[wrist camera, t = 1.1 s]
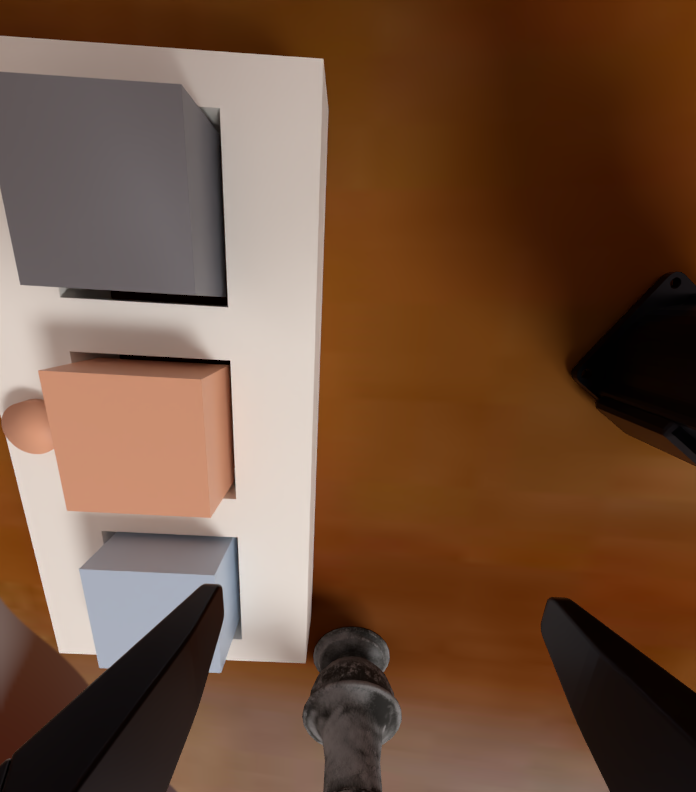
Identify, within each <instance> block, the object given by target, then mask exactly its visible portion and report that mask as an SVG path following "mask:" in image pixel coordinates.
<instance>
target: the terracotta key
mask: <svg viewBox="0 0 696 792" xmlns="http://www.w3.org/2000/svg"><path fill="white" fill-rule="evenodd" d="M38 373H39V378H40V383H41V388H42V393H43V397H44V402H45V407H46V412H47V417H48V422H49V426H50V431H51V436H52V441H53V446H54V451H55V456H56V460H57V465H58V470H59V475H60V480H61V485H62V489H63V494H64V499H65V504H66V509H67V511H79V512H100V513H121V514H141V515H162V516H182V517H203V518H211V517H212V515H213V513H214V512H215V510H216V509H217V507H218V506H219V504H220V503H221V501H222V499H223V498H224V496H225V495H226V493H227V492H228V490H229V488H230V487H231V485H232V484H233V482H234V458H233V434H232V411H231V388H230V365H221V364H204V363H186V362H168V361H150V360H132V359H115V358H94V359H89V360H84V361H80V362H75V363H70V364H66V365H61V366H57V367H52V368H47V369H43V370H38Z"/></svg>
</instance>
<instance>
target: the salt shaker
mask: <svg viewBox="0 0 696 792" xmlns="http://www.w3.org/2000/svg"><path fill="white" fill-rule="evenodd" d="M313 658H314V664H315V666H316V668H317V669H318V671H319V672H320V674H319V675H318V677H317V679H316V681H315V683H314V685H313V688H312V690H311V694H310V697H309V699H308V701H307V702H306V704H305V706H304V710H303V716H302V717H303V723H304V726H305V728H306V730H307V732H308V733H309V735H310V736H311V737H312V738H313V739H314V740H315V741H317V742H318V743H320V744H322V745H323V747H324V756H325V771H324V791H323V792H382V784H381V769H380V756H381V747H382V745H383V744H384V743H386V742H387V741H388V740H390V739H391V738H392V737H393V736H394V735H395V733H396V732H397V731H398V729H399V726H400V723H401V720H402V717H401V708H400V706H399V704H398V701H397V700H396V699H395V697H394V693H393V691H392V689H391V686H390V684H389V682H388V680H387V678H386V676H385V674H384V673H383V672H384V671H385V669H386V668H387V666H388V663H389V659H390V658H389V649H388V647H387V644H386V642H385V641H384V640H383V639H382V638H381V637H380V636H379V635H377V634H376V633H374V632H373V631H370V630H367V629H365V628H359V627H343V628H339V629H336V630H333V631H331V632H329V633H327V634H325V635H324V636H323V637H322V638H321V639H320V640H319V641H318V643H317V645H316V646H315V650H314V655H313Z"/></svg>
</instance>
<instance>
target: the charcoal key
mask: <svg viewBox="0 0 696 792" xmlns="http://www.w3.org/2000/svg"><path fill="white" fill-rule="evenodd" d="M0 189H1V194H2V199H3V204H4V208H5V213H6V218H7V223H8V228H9V233H10V237H11V242H12V247H13V252H14V257H15V262H16V267H17V271H18V276H19V281H20V285H29V286H45V287H62V288H79V289H96V290H113V291H129V292H146V293H163V294H180V295H197V296H215V297H227V293H226V270H225V246H224V223H223V200H222V176H221V153H220V134H219V133H218V132H217V131H216V129H215V128H214V127H213V125H212V124H211V123H210V121H209V120H208V119H207V117H206V116H205V115H204V113H203V112H202V111H201V109H200V108H199V107H198V105H197V104H196V103H195V102H194V100H193V99H192V98H191V96H190V95H189V94H188V92H187V91H186V90H185V88H184V87H183V86H182V84H171V83H156V82H142V81H128V80H113V79H99V78H85V77H70V76H56V75H41V74H27V73H13V72H0Z"/></svg>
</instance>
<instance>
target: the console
mask: <svg viewBox="0 0 696 792" xmlns="http://www.w3.org/2000/svg"><path fill="white" fill-rule="evenodd" d="M0 72H13V73H27V74H41V75H56V76H70V77H85V78H99V79H113V80H128V81H142V82H156V83H171V84H182V86H183V87H184V88H185V90H186V91H187V92H188V94H189V95H190V96H191V98H192V99H193V100H194V102H195V103H196V104H197V105H198V107H199V108H200V109H201V111H202V112H203V113H204V115H205V116H206V117H207V119H208V120H209V121H210V123H211V124H212V125H213V127H214V128H215V129H216V131H217V132H218V133H219V134H220V146H221V150H222V173H223V197H224V221H225V245H226V269H227V293H228V305H212V304H195V303H178V302H161V301H144V300H127V299H112V297H111V290H96V289H79V288H62V287H45V286H29V285H20V281H19V276H18V271H17V267H16V262H15V257H14V252H13V247H12V242H11V237H10V233H9V228H8V223H7V218H6V213H5V208H4V204H3V199H2V194H1V189H0V415H1V419H2V420H1V423H2V429H3V432H4V434H5V435H6V439H7V443H8V447H9V451H10V455H11V459H12V463H13V467H14V471H15V475H16V479H17V483H18V487H19V492H20V496H21V500H22V504H23V508H24V512H25V516H26V520H27V524H28V528H29V532H30V536H31V540H32V544H33V548H34V552H35V556H36V560H37V564H38V568H39V572H40V576H41V580H42V584H43V588H44V592H45V596H46V600H47V604H48V609H49V613H50V617H51V621H52V625H53V629H54V633H55V637H56V641H57V645H58V649H59V653H73V654H96V649H95V644H94V640H93V635H92V630H91V625H90V620H89V615H88V611H87V606H86V601H85V596H84V591H83V586H82V582H81V577H80V572H79V569H80V568H81V567H82V566H83V565H84V564H85V563H86V562H87V561H88V560H89V559H90V558H91V557H92V556H93V555H94V554H95V553H96V552H97V551H98V550H99V549H100V548H101V547H102V546H103V545H104V544H105V543H106V542H107V541H108V540H109V539H110V538H111V537H112V536H113V535H114V534H115V533H116V532H135V533H156V534H177V535H198V536H219V537H238V555H239V579H240V593H239V599H240V619H239V622H238V625H237V628H236V631H235V634H234V637H233V640H232V643H231V646H230V648H229V651H228V654H227V657H226V660H241V661H265V662H289V663H306V656H307V647H308V639H309V630H310V622H311V609H312V579H313V550H314V520H315V491H316V461H317V432H318V402H319V373H320V343H321V314H322V285H323V255H324V226H325V196H326V167H327V137H328V100H327V90H326V80H325V70H324V60H323V59H318V58H304V57H290V56H276V55H262V54H248V53H234V52H220V51H206V50H192V49H178V48H164V47H151V46H137V45H123V44H109V43H95V42H81V41H67V40H53V39H39V38H25V37H11V36H0ZM119 354H124V355H142V356H159V357H177V358H195V359H213V360H230V364H231V388H232V412H233V436H234V460H235V468H234V482H233V484H232V485H231V487H230V488H229V490H228V492H227V493H226V495H225V496H224V498H223V499H222V501H221V503H220V504H219V506H218V507H217V509H216V510H215V512H214V513H213V515H212V517H211V518H203V517H182V516H162V515H141V514H121V513H100V512H79V511H67V509H66V504H65V499H64V494H63V489H62V485H61V480H60V475H59V470H58V465H57V460H56V456H55V451H54V446H53V441H52V436H51V431H50V426H49V422H48V417H47V412H46V407H45V402H44V397H43V393H42V388H41V383H40V378H39V373H38V370H43V369H47V368H52V367H57V366H61V365H66V364H70V363H75V362H80V361H84V360H89V359H94V358H115V359H120V356H119Z"/></svg>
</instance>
